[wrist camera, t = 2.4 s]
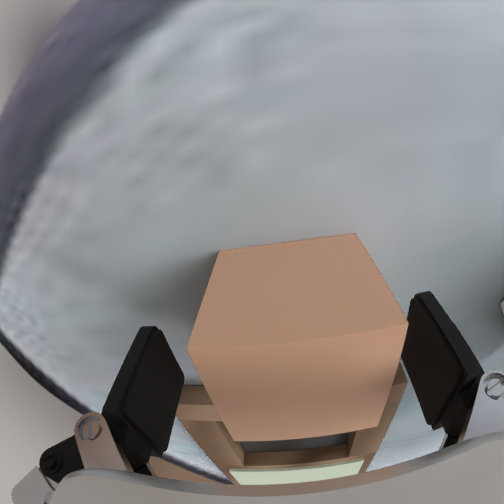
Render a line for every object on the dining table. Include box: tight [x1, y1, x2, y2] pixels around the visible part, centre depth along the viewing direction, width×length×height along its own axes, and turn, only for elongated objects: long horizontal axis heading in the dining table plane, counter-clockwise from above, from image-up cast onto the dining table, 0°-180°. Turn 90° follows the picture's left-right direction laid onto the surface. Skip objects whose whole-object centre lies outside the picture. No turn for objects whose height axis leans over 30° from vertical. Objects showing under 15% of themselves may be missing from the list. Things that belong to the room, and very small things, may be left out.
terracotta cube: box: [187, 233, 409, 441], centre depth 10 cm, size 6×6×6 cm
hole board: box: [176, 363, 408, 485], centre depth 19 cm, size 14×22×2 cm, turn 10°
